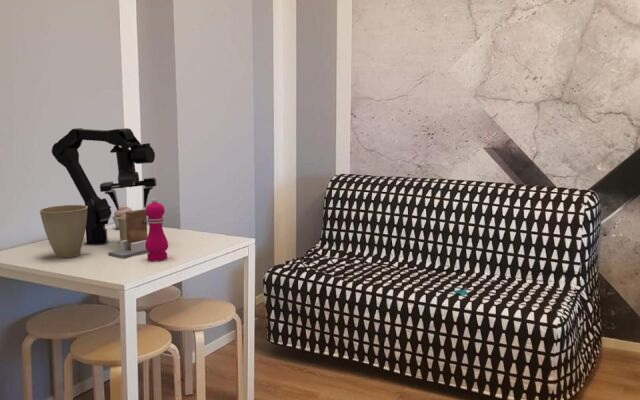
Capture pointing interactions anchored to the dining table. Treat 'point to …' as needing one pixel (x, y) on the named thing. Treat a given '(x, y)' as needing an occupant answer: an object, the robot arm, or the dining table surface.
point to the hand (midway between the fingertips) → (131, 208)
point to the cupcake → (120, 214)
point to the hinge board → (136, 249)
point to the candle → (123, 227)
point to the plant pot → (65, 228)
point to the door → (136, 226)
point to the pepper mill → (156, 232)
